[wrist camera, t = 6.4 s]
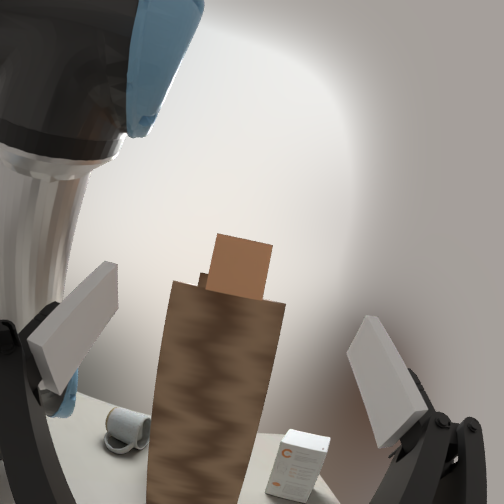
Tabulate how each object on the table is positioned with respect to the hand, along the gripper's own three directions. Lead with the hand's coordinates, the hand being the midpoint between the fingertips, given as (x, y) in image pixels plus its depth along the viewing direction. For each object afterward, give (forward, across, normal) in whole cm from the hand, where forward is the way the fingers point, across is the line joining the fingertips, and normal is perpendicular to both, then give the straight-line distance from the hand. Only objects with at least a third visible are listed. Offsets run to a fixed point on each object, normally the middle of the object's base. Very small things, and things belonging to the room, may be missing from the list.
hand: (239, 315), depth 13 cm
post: (-5, 0, -38) cm, 38 cm away
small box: (+6, +18, -44) cm, 48 cm away
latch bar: (+11, 0, -6) cm, 13 cm away
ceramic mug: (+12, -15, -48) cm, 52 cm away
